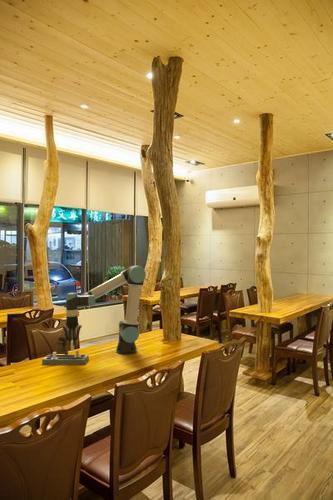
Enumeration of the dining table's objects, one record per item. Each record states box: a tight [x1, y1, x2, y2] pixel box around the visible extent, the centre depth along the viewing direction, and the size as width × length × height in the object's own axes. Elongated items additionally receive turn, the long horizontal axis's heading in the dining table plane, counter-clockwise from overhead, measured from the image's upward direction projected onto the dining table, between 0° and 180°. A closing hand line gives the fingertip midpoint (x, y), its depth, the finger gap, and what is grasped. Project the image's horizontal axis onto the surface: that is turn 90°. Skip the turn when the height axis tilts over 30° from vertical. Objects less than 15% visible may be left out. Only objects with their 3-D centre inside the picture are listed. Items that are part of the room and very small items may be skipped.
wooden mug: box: [55, 330, 69, 355], centre depth 258 cm, size 9×14×18 cm, turn 49°
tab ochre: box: [74, 349, 82, 357], centre depth 243 cm, size 4×3×5 cm
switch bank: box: [41, 354, 90, 365], centre depth 240 cm, size 28×12×3 cm, turn 90°
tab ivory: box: [51, 351, 58, 359], centre depth 237 cm, size 4×3×5 cm
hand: (72, 350), depth 243 cm, fingers closed
